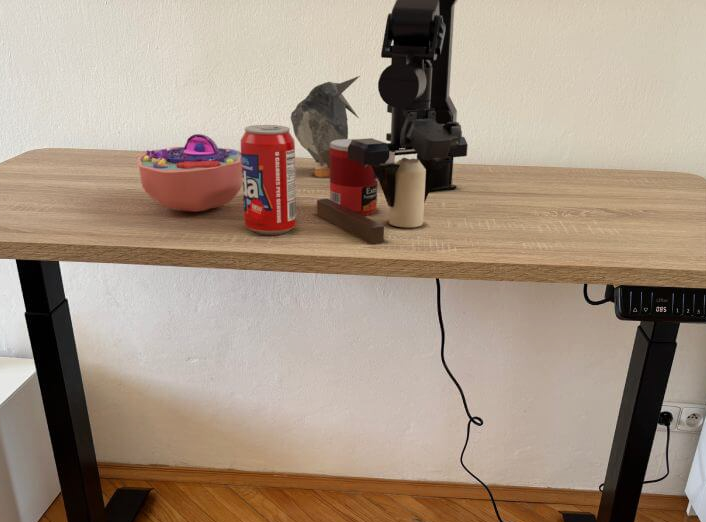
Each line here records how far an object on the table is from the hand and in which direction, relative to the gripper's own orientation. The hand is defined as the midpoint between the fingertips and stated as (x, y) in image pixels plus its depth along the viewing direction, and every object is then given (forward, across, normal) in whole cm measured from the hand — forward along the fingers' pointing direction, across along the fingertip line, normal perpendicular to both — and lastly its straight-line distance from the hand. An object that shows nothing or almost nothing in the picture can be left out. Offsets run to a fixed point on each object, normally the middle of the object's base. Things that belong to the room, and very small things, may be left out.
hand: (406, 204), depth 124 cm
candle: (+3, 0, 0) cm, 3 cm away
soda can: (+3, -21, +6) cm, 22 cm away
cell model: (+3, -27, +23) cm, 35 cm away
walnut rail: (+3, -9, +2) cm, 10 cm away
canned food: (+3, -3, +11) cm, 12 cm away
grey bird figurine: (+3, +6, +39) cm, 40 cm away
